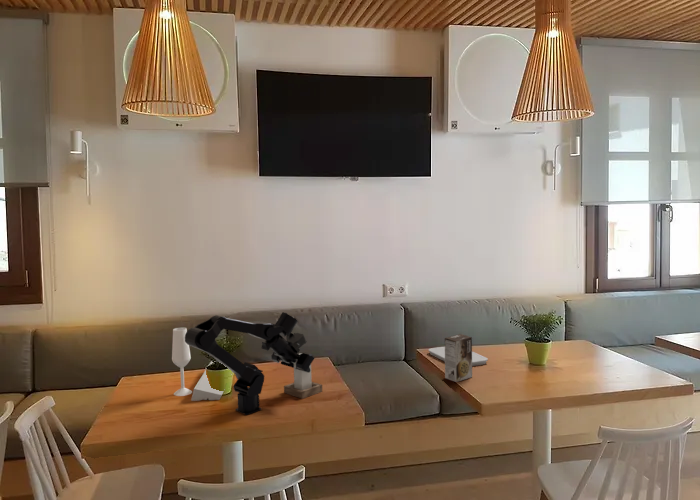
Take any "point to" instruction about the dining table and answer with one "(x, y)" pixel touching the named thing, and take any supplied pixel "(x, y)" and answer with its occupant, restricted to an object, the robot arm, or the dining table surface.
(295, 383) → the clay block
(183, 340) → the champagne flute
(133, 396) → the dining table surface
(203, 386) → the decorative molding
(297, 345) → the robot arm
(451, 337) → the coffee box
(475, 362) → the tablet
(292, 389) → the rectangular frame
